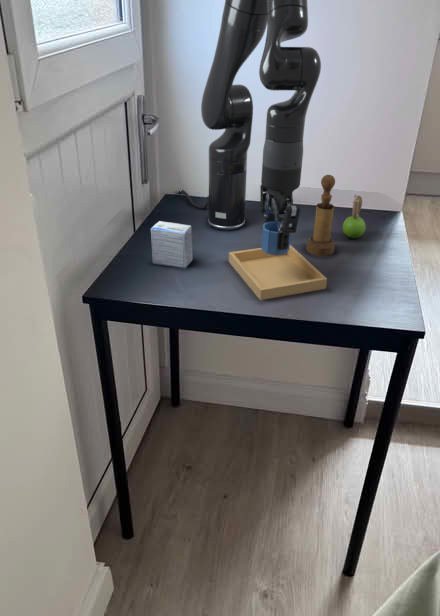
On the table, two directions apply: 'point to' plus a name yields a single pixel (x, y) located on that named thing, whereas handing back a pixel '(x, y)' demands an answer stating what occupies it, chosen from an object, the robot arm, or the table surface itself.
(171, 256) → the medicine box
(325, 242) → the mortar and pestle
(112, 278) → the table surface
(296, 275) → the tray
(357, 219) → the green ball with peg
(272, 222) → the cup
